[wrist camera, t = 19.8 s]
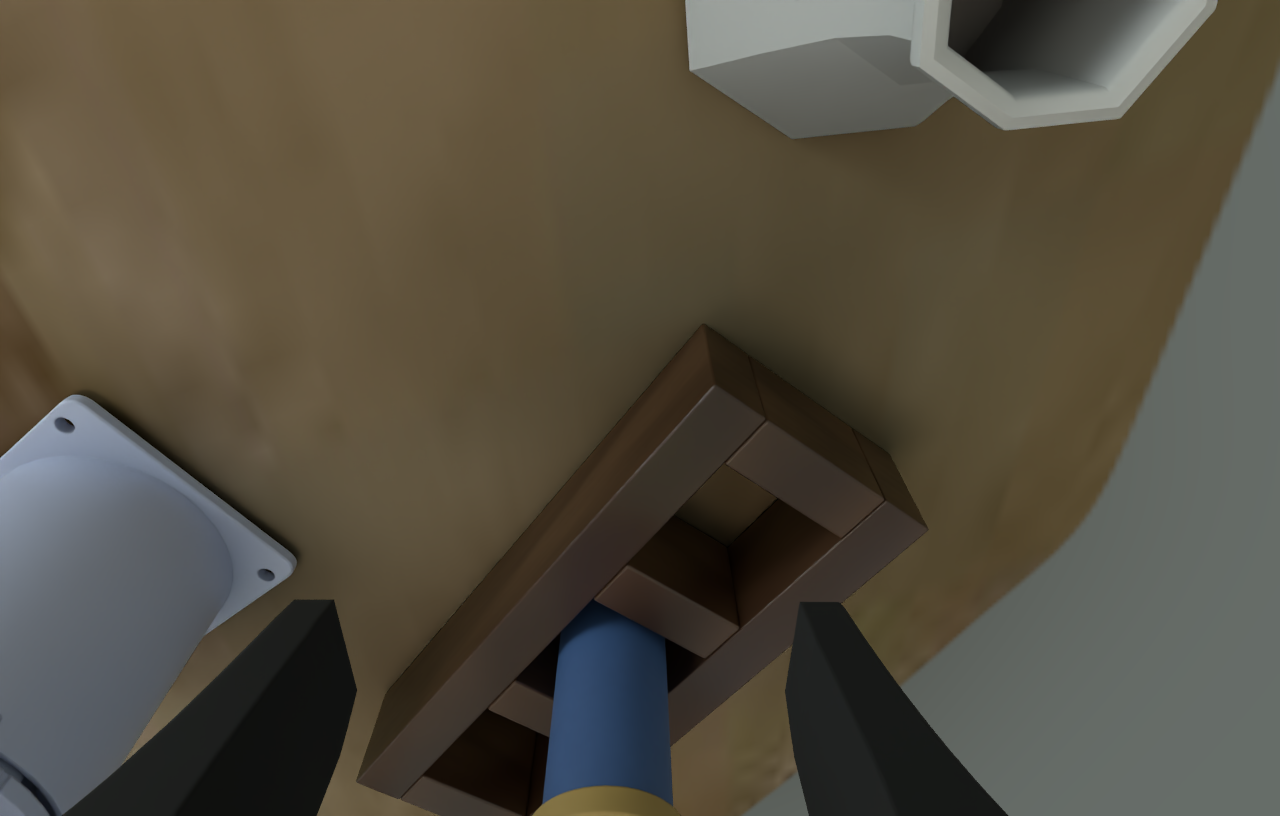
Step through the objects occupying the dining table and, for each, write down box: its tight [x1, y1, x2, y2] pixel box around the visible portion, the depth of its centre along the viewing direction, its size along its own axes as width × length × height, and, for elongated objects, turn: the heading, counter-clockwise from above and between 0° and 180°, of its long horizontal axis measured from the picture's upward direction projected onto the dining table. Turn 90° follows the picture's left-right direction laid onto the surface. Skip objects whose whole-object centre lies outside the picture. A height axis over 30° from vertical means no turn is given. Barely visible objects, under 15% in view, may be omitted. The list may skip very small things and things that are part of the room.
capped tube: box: [533, 598, 681, 816], centre depth 21 cm, size 4×4×9 cm
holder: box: [356, 324, 928, 816], centre depth 24 cm, size 7×18×4 cm, turn 143°
